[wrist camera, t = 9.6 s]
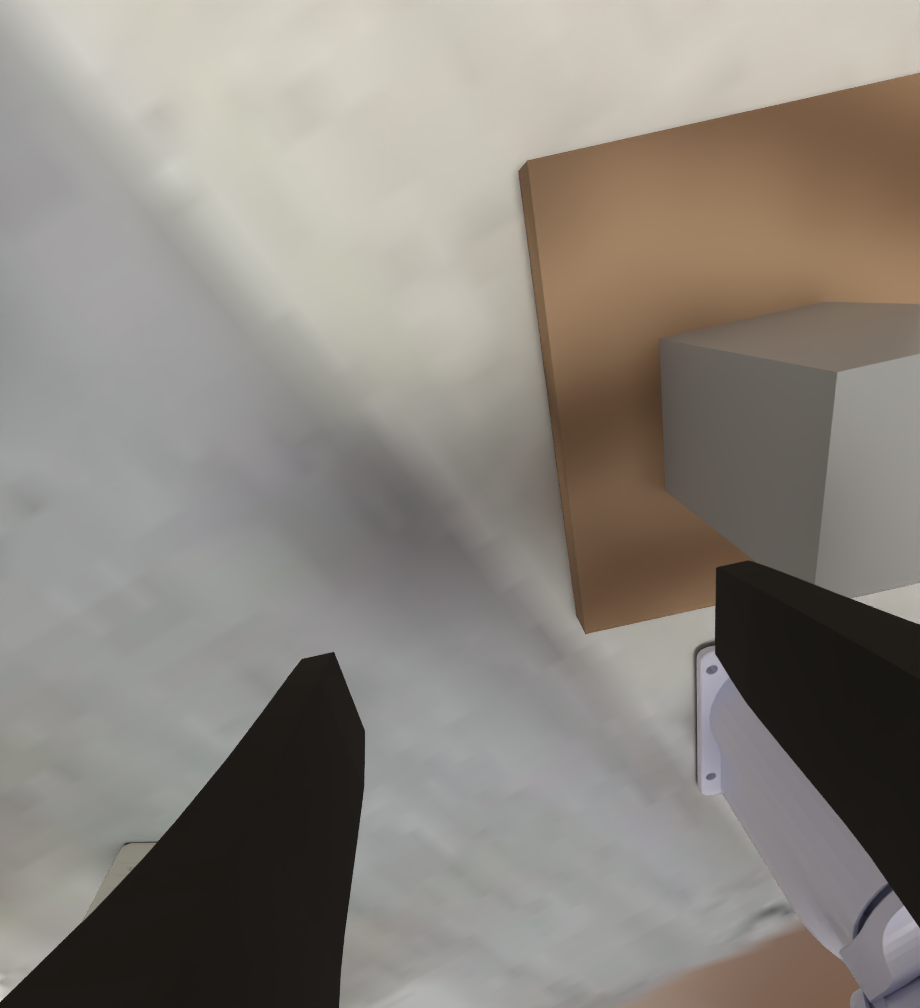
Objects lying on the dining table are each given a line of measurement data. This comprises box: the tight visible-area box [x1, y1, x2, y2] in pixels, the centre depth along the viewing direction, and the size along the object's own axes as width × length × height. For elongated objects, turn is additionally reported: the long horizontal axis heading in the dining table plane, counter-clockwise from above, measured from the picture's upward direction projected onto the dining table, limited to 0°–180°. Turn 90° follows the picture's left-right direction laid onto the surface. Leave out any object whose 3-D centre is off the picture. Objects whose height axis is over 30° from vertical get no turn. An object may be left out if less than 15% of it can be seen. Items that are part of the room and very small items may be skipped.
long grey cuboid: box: [660, 302, 920, 598], centre depth 13 cm, size 5×5×7 cm
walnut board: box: [519, 73, 920, 634], centre depth 17 cm, size 16×12×1 cm
